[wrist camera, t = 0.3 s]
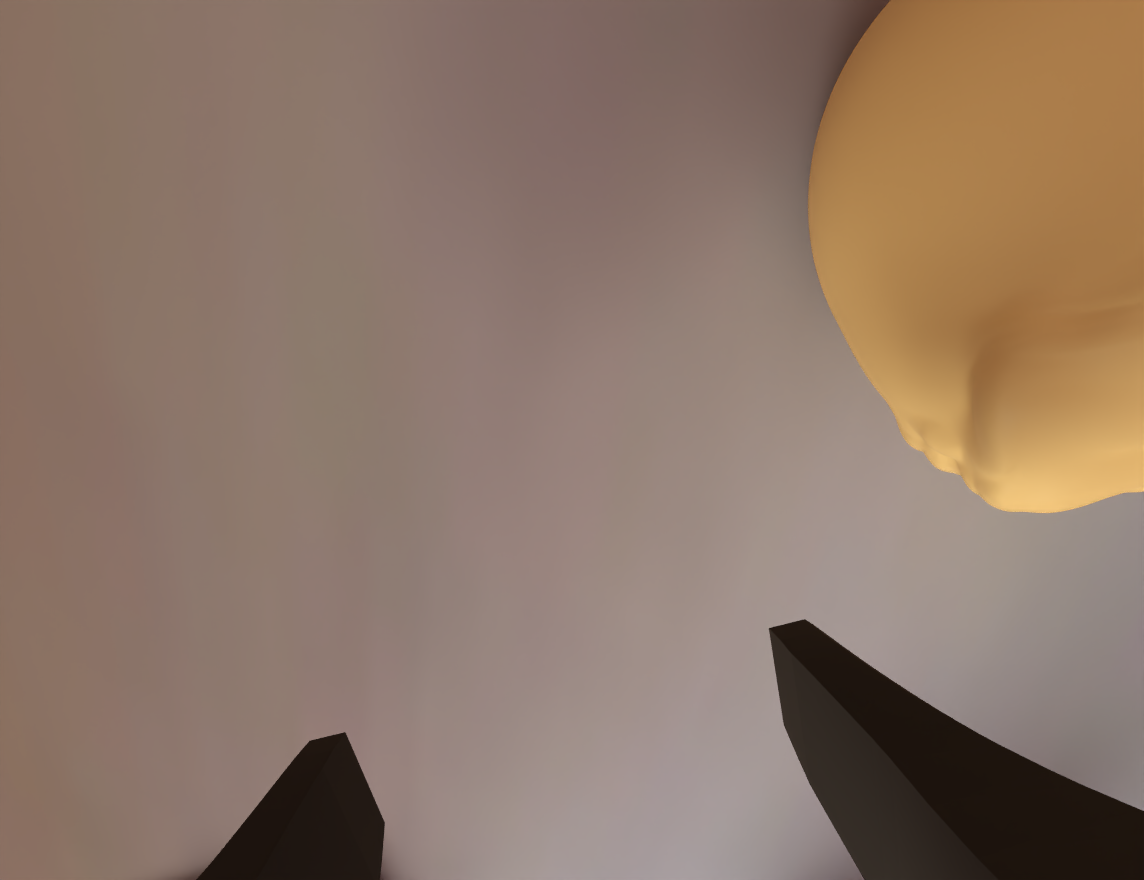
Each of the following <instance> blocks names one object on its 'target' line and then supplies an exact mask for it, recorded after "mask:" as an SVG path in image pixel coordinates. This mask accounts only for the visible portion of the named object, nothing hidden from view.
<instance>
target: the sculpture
mask: <svg viewBox="0 0 1144 880" xmlns="http://www.w3.org/2000/svg"><path fill="white" fill-rule="evenodd" d="M808 220H809V233H810V241H811V248H812V253H813V258H814V263H815V267H816V271H817V274H818V278H819V281H820V284H821V287H822V290H823V292H824V295H825V298H826V300H827V302H828V305H829V307H830V309H831V311H832V313H833V315H834V317H835V319H836V321H837V323H838V325H839V327H840V329H841V331H842V333H843V335H844V337H845V339H846V341H847V343H848V345H849V347H850V348H851V350H852V352H853V354H854V356H855V358H856V359H857V361H858V363H859V364H860V366H861V368H862V369H863V371H864V373H865V374H866V376H867V377H868V379H869V380H870V381H871V383H872V384H873V386H874V387H875V388H876V390H877V391H878V392H879V393H880V394H881V396H882V397H883V398H884V399H885V400H886V402H887V403H888V405H889V406H890V408H891V410H892V412H893V413H894V415H895V417H896V420H897V423H898V427H899V429H900V432H901V434H902V436H903V437H904V439H905V440H906V442H907V443H908V444H909V445H910V446H912V447H913V448H915V449H917V450H919V451H923V452H924V453H925V455H926V457H927V458H928V460H929V461H930V462H931V463H932V464H933V465H934V466H935V467H936V468H938V469H940V470H942V471H945V472H951V473H956V474H958V475H961V476H962V478H963V480H964V481H965V483H966V485H967V486H968V487H969V488H970V489H971V490H972V491H973V492H974V493H976V494H978V495H980V496H981V497H982V498H983V499H984V500H985V501H986V502H987V503H988V504H989V505H991V506H993V507H995V508H998V509H1000V510H1003V511H1008V512H1034V513H1054V512H1061V511H1066V510H1071V509H1075V508H1078V507H1082V506H1085V505H1088V504H1091V503H1094V502H1097V501H1100V500H1102V499H1105V498H1108V497H1111V496H1115V495H1118V494H1121V493H1125V492H1143V491H1144V0H890V1H889V2H888V4H887V5H886V6H885V7H884V8H883V10H882V11H881V12H880V13H879V15H878V16H877V17H876V18H875V20H874V21H873V22H872V24H871V25H870V26H869V28H868V29H867V31H866V32H865V33H864V35H863V36H862V38H861V39H860V41H859V42H858V44H857V45H856V47H855V49H854V50H853V52H852V53H851V55H850V57H849V59H848V60H847V62H846V64H845V66H844V68H843V69H842V71H841V73H840V75H839V77H838V79H837V81H836V84H835V86H834V88H833V90H832V93H831V95H830V98H829V100H828V103H827V105H826V108H825V111H824V114H823V117H822V120H821V123H820V127H819V130H818V134H817V138H816V142H815V146H814V151H813V157H812V163H811V170H810V179H809V192H808Z"/></svg>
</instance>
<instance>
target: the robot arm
mask: <svg viewBox="0 0 1144 880" xmlns="http://www.w3.org/2000/svg"><path fill="white" fill-rule="evenodd" d="M769 632H770V638H771V645H772V651H773V658H774V664H775V671H776V677H777V684H778V690H779V696H780V703H781V709H782V716H783V722H784V726H785V729H786V731H787V733H788V736H789V738H790V740H791V743H792V745H793V747H794V750H795V752H796V754H797V756H798V759H799V761H800V763H801V765H802V768H803V770H804V772H805V774H806V777H807V779H808V781H809V783H810V785H811V787H812V789H813V791H814V792H815V794H816V796H817V798H818V799H819V801H820V803H821V805H822V806H823V808H824V810H825V812H826V813H827V815H828V817H829V819H830V820H831V822H832V824H833V826H834V827H835V829H836V831H837V833H838V834H839V836H840V838H841V840H842V841H843V843H844V845H845V847H846V848H847V850H848V852H849V853H850V855H851V857H852V859H853V860H854V862H855V864H856V866H857V867H858V869H859V871H860V873H861V874H862V876H863V878H864V879H865V880H1144V811H1142V810H1140V809H1137V808H1135V807H1133V806H1130V805H1128V804H1125V803H1123V802H1121V801H1118V800H1116V799H1114V798H1111V797H1109V796H1107V795H1104V794H1102V793H1100V792H1097V791H1095V790H1093V789H1090V788H1088V787H1086V786H1083V785H1081V784H1079V783H1077V782H1075V781H1072V780H1070V779H1068V778H1066V777H1064V776H1061V775H1059V774H1057V773H1055V772H1053V771H1051V770H1049V769H1047V768H1045V767H1043V766H1041V765H1039V764H1037V763H1035V762H1033V761H1031V760H1029V759H1027V758H1025V757H1023V756H1021V755H1019V754H1017V753H1015V752H1013V751H1011V750H1009V749H1007V748H1005V747H1003V746H1001V745H999V744H997V743H995V742H993V741H991V740H989V739H988V738H986V737H984V736H982V735H980V734H978V733H977V732H975V731H973V730H971V729H970V728H968V727H966V726H965V725H963V724H961V723H959V722H958V721H956V720H954V719H953V718H951V717H949V716H947V715H946V714H944V713H942V712H941V711H939V710H937V709H936V708H934V707H933V706H931V705H929V704H928V703H926V702H925V701H923V700H921V699H920V698H918V697H917V696H915V695H914V694H912V693H911V692H909V691H908V690H906V689H904V688H903V687H901V686H900V685H898V684H897V683H895V682H894V681H892V680H891V679H889V678H888V677H886V676H885V675H883V674H882V673H880V672H879V671H877V670H876V669H874V668H873V667H871V666H870V665H869V664H867V663H866V662H864V661H863V660H861V659H860V658H859V657H857V656H856V655H854V654H853V653H852V652H850V651H849V650H847V649H846V648H845V647H843V646H842V645H840V644H839V643H838V642H836V641H835V640H834V639H832V638H831V637H829V636H828V635H827V634H825V633H824V632H823V631H821V630H820V629H818V628H817V627H816V626H814V625H813V624H811V623H810V622H808V621H807V620H805V619H804V620H800V621H796V622H792V623H788V624H784V625H780V626H776V627H772V628H769ZM384 826H385V822H384V820H383V818H382V815H381V813H380V811H379V809H378V806H377V804H376V802H375V799H374V797H373V795H372V792H371V790H370V788H369V786H368V783H367V781H366V779H365V776H364V774H363V772H362V770H361V767H360V765H359V763H358V760H357V758H356V756H355V753H354V751H353V749H352V747H351V744H350V742H349V740H348V737H347V735H346V733H345V732H344V733H340V734H336V735H332V736H328V737H324V738H320V739H315V740H311V741H309V742H308V743H307V745H306V746H305V747H304V748H303V749H302V750H301V751H300V753H299V754H298V755H297V756H296V758H295V759H294V760H293V761H292V762H291V764H290V765H289V766H288V767H287V769H286V770H285V771H284V772H283V774H282V775H281V776H280V778H279V779H278V780H277V781H276V783H275V784H274V785H273V786H272V788H271V789H270V790H269V791H268V793H267V794H266V795H265V797H264V798H263V799H262V800H261V802H260V803H259V804H258V805H257V807H256V808H255V809H254V810H253V812H252V813H251V814H250V815H249V817H248V818H247V819H246V820H245V822H244V823H243V824H242V825H241V827H240V828H239V829H238V830H237V832H236V833H235V834H234V835H233V837H232V838H231V839H230V840H229V842H228V843H227V844H226V845H225V847H224V848H223V849H222V850H221V852H220V853H219V854H218V855H217V856H216V858H215V859H214V860H213V861H212V862H211V864H210V865H209V866H208V867H207V868H206V869H205V870H204V872H203V873H202V874H201V875H200V876H199V877H198V879H197V880H380V872H381V863H382V851H383V839H384Z"/></svg>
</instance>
